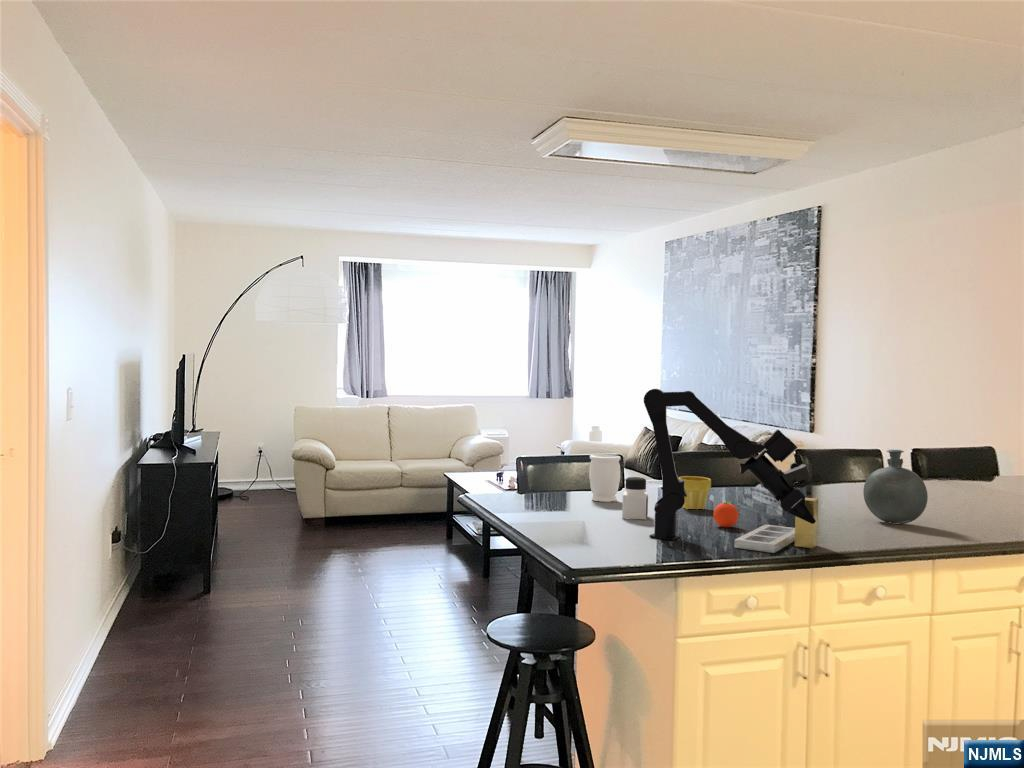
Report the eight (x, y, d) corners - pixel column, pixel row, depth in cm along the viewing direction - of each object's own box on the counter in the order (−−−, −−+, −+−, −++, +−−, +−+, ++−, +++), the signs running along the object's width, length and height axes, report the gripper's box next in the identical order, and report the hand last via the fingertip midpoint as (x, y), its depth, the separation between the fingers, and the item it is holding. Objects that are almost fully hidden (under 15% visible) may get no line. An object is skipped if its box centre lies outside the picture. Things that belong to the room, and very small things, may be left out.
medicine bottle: (646, 520, 250) (647, 479, 249) (622, 519, 251) (622, 478, 251) (647, 516, 257) (648, 476, 256) (623, 514, 258) (624, 475, 258)
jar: (582, 498, 288) (583, 454, 287) (609, 497, 292) (610, 453, 292) (599, 503, 278) (600, 457, 278) (625, 502, 283) (626, 457, 282)
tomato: (721, 523, 247) (721, 499, 247) (744, 526, 243) (744, 501, 242) (708, 527, 241) (709, 502, 241) (731, 530, 236) (732, 505, 236)
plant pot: (717, 510, 269) (717, 479, 269) (689, 512, 265) (689, 480, 265) (698, 505, 279) (699, 475, 279) (671, 506, 275) (671, 476, 275)
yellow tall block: (812, 548, 215) (813, 501, 215) (794, 546, 217) (795, 499, 217) (817, 545, 219) (818, 498, 218) (799, 543, 221) (800, 497, 221)
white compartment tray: (774, 553, 208) (774, 544, 208) (734, 547, 214) (734, 539, 214) (802, 536, 230) (802, 528, 230) (765, 531, 236) (765, 524, 236)
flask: (883, 517, 262) (885, 446, 262) (932, 527, 247) (934, 451, 246) (856, 520, 257) (858, 447, 256) (905, 530, 242) (907, 453, 241)
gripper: (796, 457, 209) (842, 504, 207) (787, 449, 227) (830, 493, 225) (761, 487, 211) (807, 534, 209) (756, 478, 229) (798, 521, 227)
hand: (811, 519), depth 218 cm, fingers open, 9 cm apart
